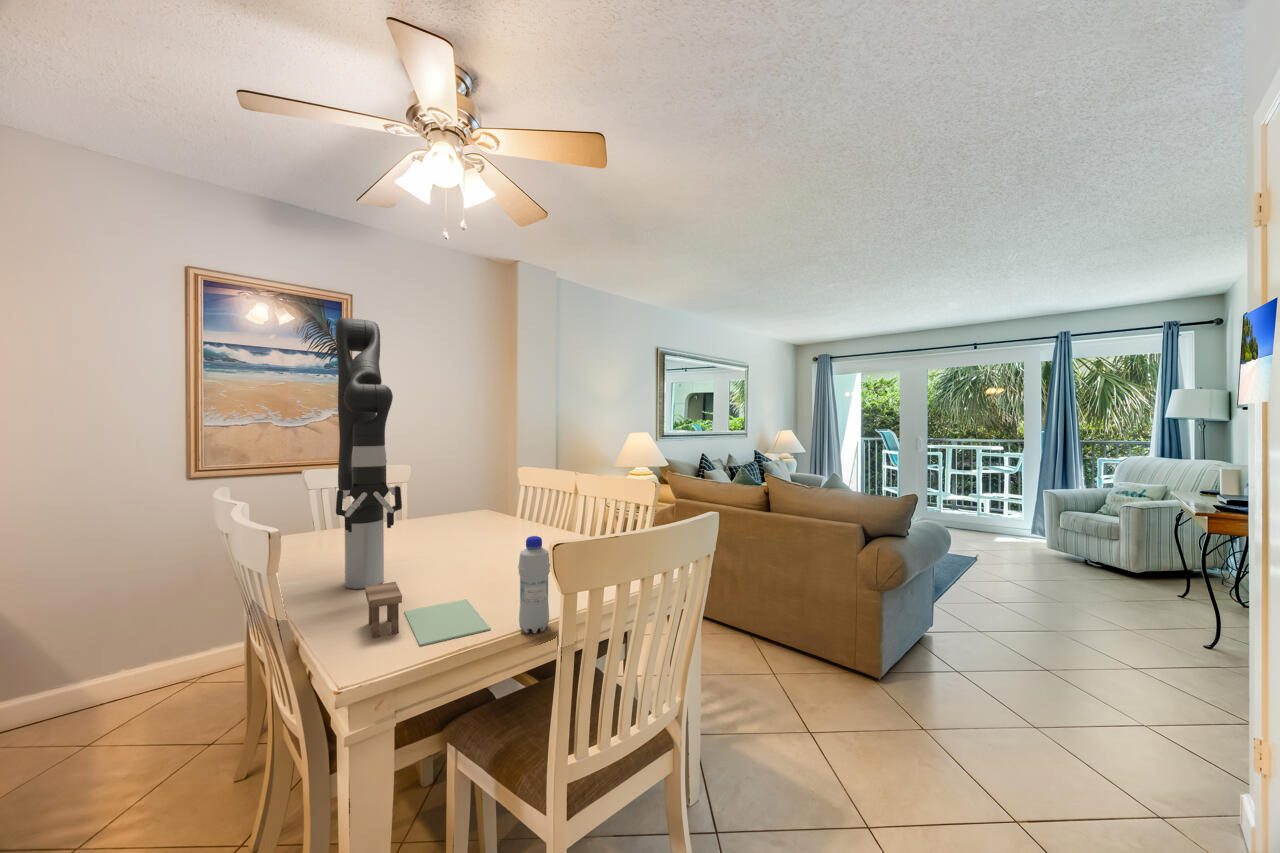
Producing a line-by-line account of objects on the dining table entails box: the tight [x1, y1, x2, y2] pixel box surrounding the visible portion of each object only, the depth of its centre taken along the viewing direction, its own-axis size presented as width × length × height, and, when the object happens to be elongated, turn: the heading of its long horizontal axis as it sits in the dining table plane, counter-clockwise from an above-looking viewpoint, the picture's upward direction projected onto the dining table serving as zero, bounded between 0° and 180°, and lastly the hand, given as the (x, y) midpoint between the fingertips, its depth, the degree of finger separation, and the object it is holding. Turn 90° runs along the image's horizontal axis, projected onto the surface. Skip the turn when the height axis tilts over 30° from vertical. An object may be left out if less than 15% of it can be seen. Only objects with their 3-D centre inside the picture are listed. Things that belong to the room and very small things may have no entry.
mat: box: [403, 599, 491, 647], centre depth 110 cm, size 20×14×1 cm
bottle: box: [517, 535, 551, 634], centre depth 106 cm, size 7×7×20 cm
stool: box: [364, 581, 403, 639], centre depth 106 cm, size 10×6×8 cm, turn 33°
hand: (369, 529), depth 123 cm, fingers open, 8 cm apart
